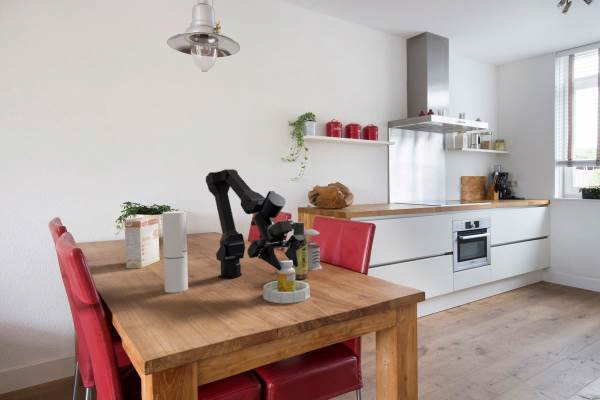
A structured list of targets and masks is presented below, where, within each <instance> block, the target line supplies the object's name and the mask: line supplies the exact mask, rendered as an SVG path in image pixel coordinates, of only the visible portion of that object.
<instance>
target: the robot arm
mask: <svg viewBox="0 0 600 400" xmlns="http://www.w3.org/2000/svg"><path fill="white" fill-rule="evenodd" d="M205 183H206V185H207V189H208V192H210V194H211V195H212V196H214V199H215V205H216V208H217V214H218V219H219V224H220V227H221V232H222V234H221V237H220V240H219V248H218V250H217V252H216V253H215V257H216V261H218V262H220V274H219V275H218V278H225V279H235V278H238V277H240V276H242V275H243V273H242V271H241V270H242V266H241V263H240V260H242V259H244V256H245V251H247V255H248V258H249V259H254V258H258V259H259V260H263V261H264V262H266V263H268V264H269V265H270V266H272V267H274V269H276V270H279V271H280V270H281V269H282V268H281V265H280V260H279V259H278V258H277V255H276V253H275V250H276V249H277V250H278V249H282V248H284V249H285V252H284V255H285V257H286V258H287V260H292V261H293V265H294V266H295V267H297V266H298V260H297V253H296V251H297V250H298V249H299V248H300V247H301V245H302V244H303V243H304V241H305V238H306V237H305V238H304V237H303V235H301V234H298V235H294V234H292V235H291V236H290V237H289V238H288V239H287V240H285V239H286V238H287V236H288V233H290V232H293V231H294V228H295V223H294V222H295V221H294V220H293V219H292V218H288V219H287V220H282V221H277V222H275V220H274V219H275V218H277V217H278V215H280V213H281V212H282V210H283V208H284V207H285V205H286V204H287V203H286V202H287V201H286V199H285V198H284V197H283V196H282V195H280V194H278V193H276V192H275V190H269V191H268V192H267V194H266V196H263V195H262V194H261V193H259V192H257V191H254V190H253V189H251V188H250V186H249V184H247V182H246V181H244V179H243V178H242V177H241V176H240V175H239V173H238V170H235V169H234V168H231V169H230V168H229V169H228V168H227V169H225V168H224V169H222V170H220V171H212V172H211V171H210V172H208V174H207V175H206V176H205ZM230 188H231V190H232V191H233V192H234V193H235V195H236V196H237V197H238V199H239V200H240V206H241V209H242V210H243V212H244V213H245V214H247V215H254V216H253V217H252V219H251V222H250V225H251V226H252V227H253V226H256V228H257V229H258V232H259V235H258V237H259V238H258V239H253V240H252V241H251V243H250V245H249V247H248V248H247V250H246V242H245V240H244V235H243V233H241V232H240V233H239V232H238V231H237V229H236V225H235V220H234V216H233V212H232V207H231V203H230V197H229V194H228V193H229V190H230Z"/></svg>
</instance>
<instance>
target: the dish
mask: <svg viewBox="0 0 600 400" xmlns="http://www.w3.org/2000/svg"><path fill="white" fill-rule="evenodd" d="M262 296H263V299H264V300H265V301H268V302H270V303H273V304H297V303H301V302H305V301H306V300H309V299H310V298H311V286H310V283H307V282H305V281H302V280H295V291H294V292H278V291H277V280H274V281H270V282H268V283H265V284H264V285H263V295H262Z"/></svg>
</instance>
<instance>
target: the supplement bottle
mask: <svg viewBox="0 0 600 400" xmlns="http://www.w3.org/2000/svg"><path fill="white" fill-rule="evenodd" d="M279 263H280V265H281V268H282V269H281V270H280V271H279V270H278V269H276V271H277V272H276V273H277V274H276V275H277V278H276V279H277V280H276V281H277V291H278V292H294V291H295V281H296V279H295V269H294V268H293V267H292V266H293V261H292V260H289V259H281V260H279Z"/></svg>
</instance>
